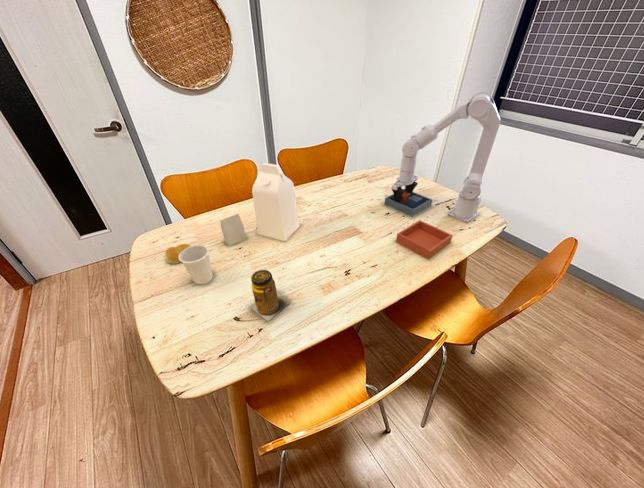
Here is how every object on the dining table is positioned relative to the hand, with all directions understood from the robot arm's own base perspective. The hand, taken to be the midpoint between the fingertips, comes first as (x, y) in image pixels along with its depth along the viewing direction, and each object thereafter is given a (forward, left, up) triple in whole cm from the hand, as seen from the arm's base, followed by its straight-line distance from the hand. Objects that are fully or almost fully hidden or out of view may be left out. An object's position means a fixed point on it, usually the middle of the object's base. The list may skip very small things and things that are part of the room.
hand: (402, 200), depth 122 cm
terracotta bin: (+18, +23, -2) cm, 29 cm away
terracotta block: (0, 0, -1) cm, 1 cm away
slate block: (0, +6, -1) cm, 6 cm away
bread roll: (+87, -28, -2) cm, 91 cm away
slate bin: (0, +3, -2) cm, 3 cm away
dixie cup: (+85, -12, -2) cm, 86 cm away
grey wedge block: (+68, -24, -2) cm, 72 cm away
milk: (+52, -19, -2) cm, 55 cm away
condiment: (+75, +12, -2) cm, 76 cm away
